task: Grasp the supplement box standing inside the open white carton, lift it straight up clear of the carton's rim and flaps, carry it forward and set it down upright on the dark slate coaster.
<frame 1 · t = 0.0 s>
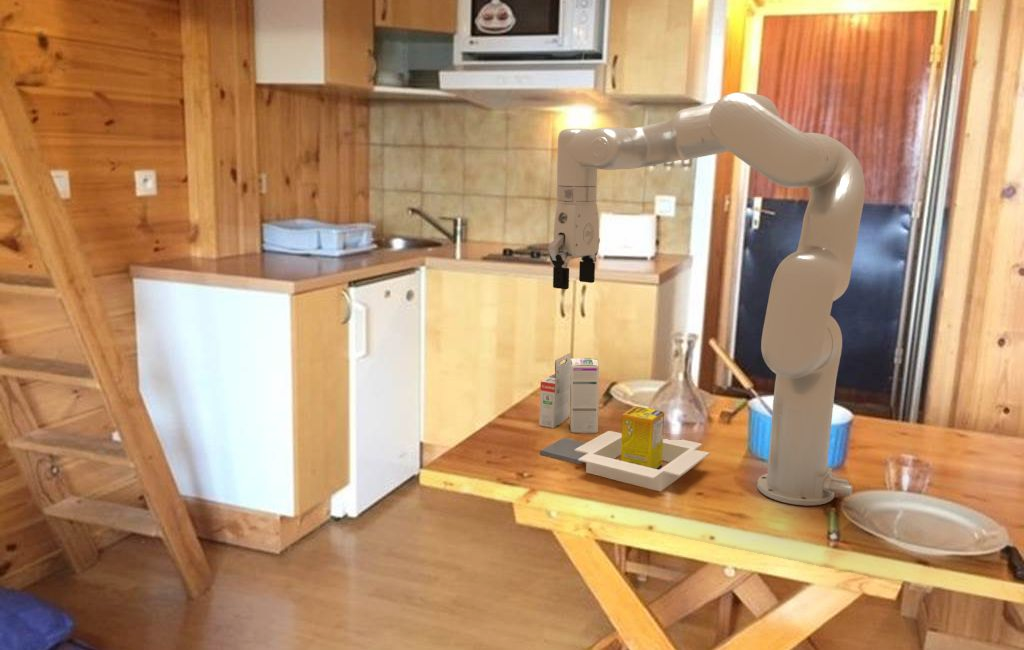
hand: (574, 285, 165), 31 cm above the table, tool pointing down, fingers open, 9 cm apart
supplement box: (640, 470, 156), resting in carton
coaster: (572, 452, 164), on the table
ink box: (554, 423, 182), on the table
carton: (640, 469, 156), on the table
syrup box: (583, 429, 178), on the table
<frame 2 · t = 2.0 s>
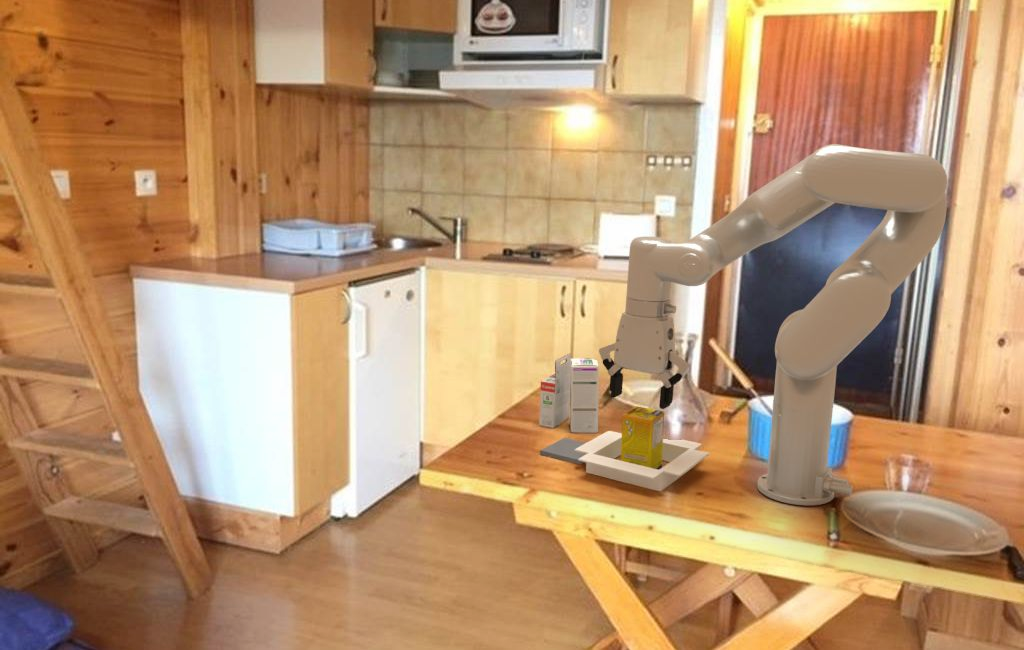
hand: (640, 401, 153), 13 cm above the table, tool pointing down, fingers open, 9 cm apart
nothing on the table moved.
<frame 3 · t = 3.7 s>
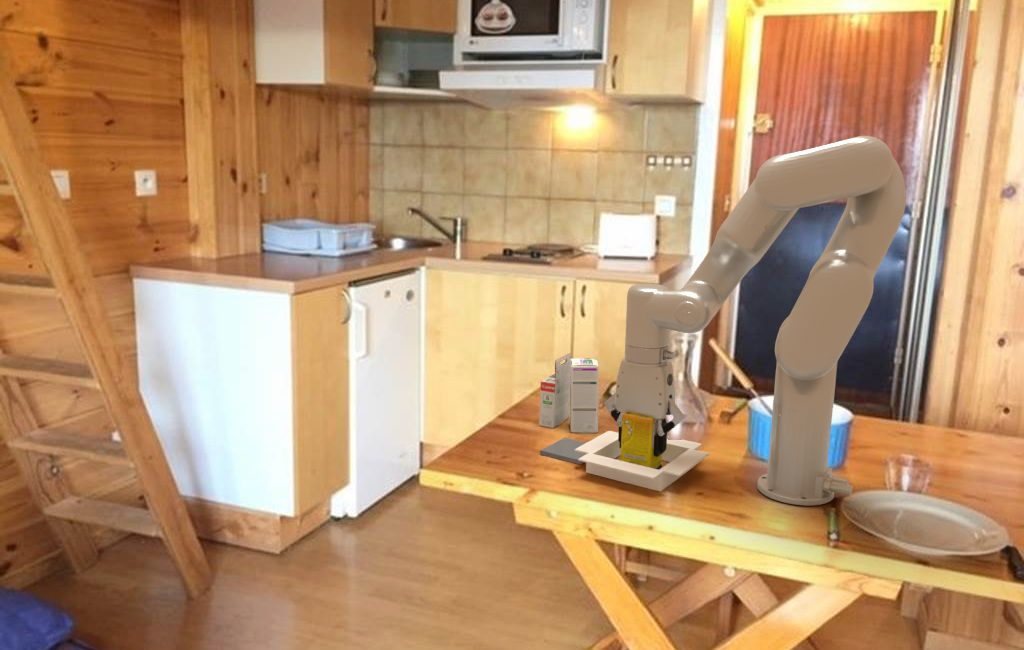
hand: (641, 449, 155), 4 cm above the table, tool pointing down, fingers closed on supplement box, 6 cm apart
supplement box: (640, 470, 156), resting in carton, touching gripper
everything else where it was.
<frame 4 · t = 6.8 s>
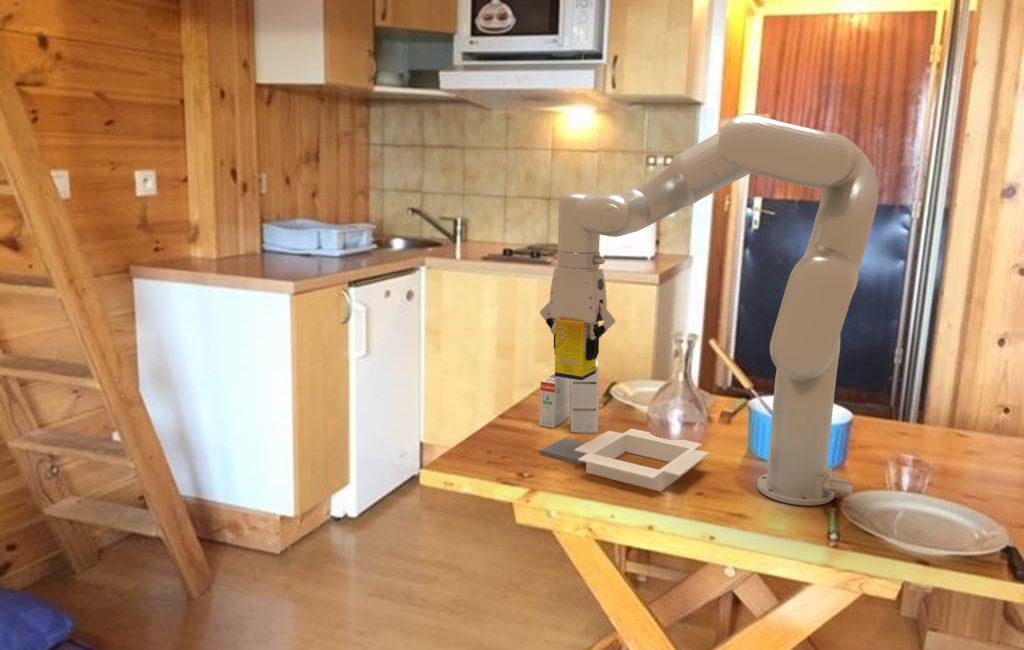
hand: (575, 355, 160), 19 cm above the table, tool pointing down, fingers closed on supplement box, 6 cm apart
supplement box: (575, 376, 161), point 15 cm above the table, touching gripper
everything else where it was.
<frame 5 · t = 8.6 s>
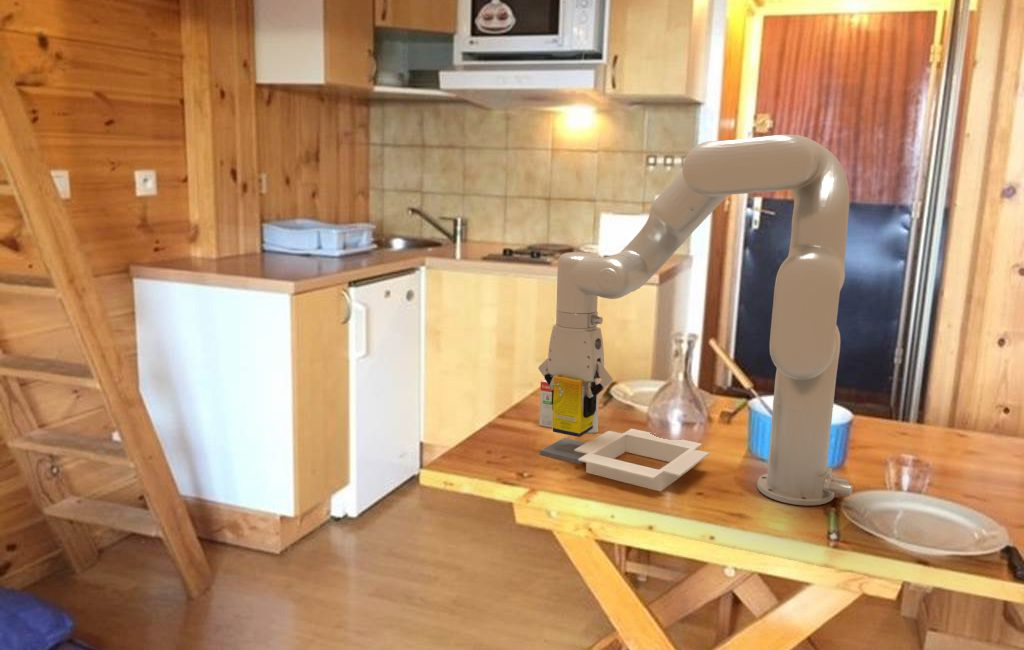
hand: (573, 411, 162), 8 cm above the table, tool pointing down, fingers closed on supplement box, 6 cm apart
supplement box: (572, 431, 163), point 4 cm above the table, touching gripper
everything else where it was.
when the fingers open (6 cm above the table, at t = 10.0 s): supplement box drops 1 cm, resting on coaster.
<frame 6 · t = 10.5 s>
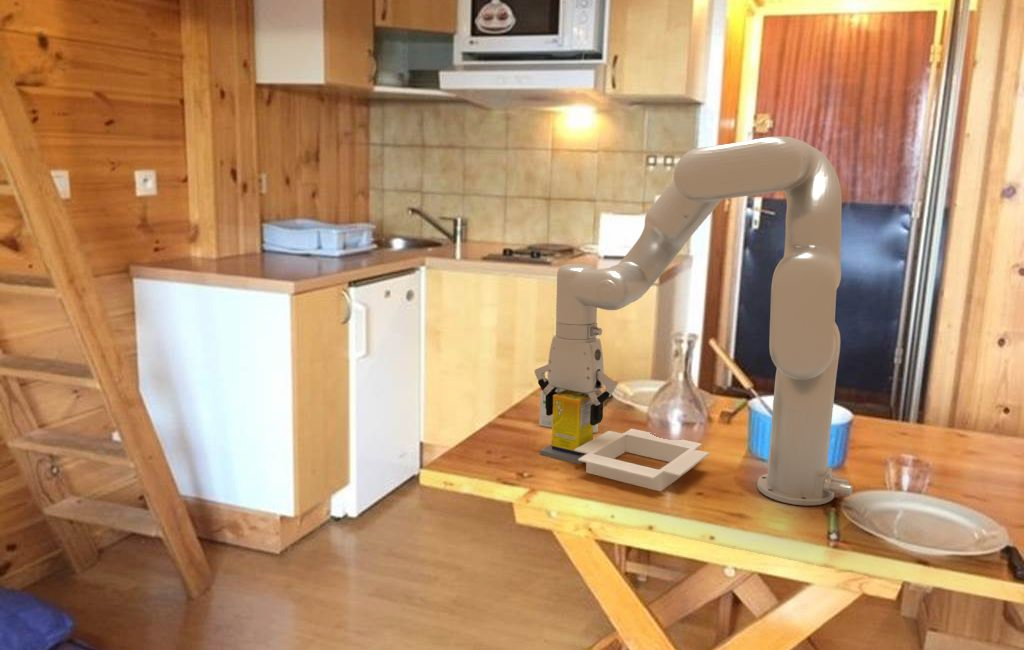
hand: (573, 418, 162), 7 cm above the table, tool pointing down, fingers open, 9 cm apart
supplement box: (572, 449, 164), point 1 cm above the table, touching coaster
everything else where it was.
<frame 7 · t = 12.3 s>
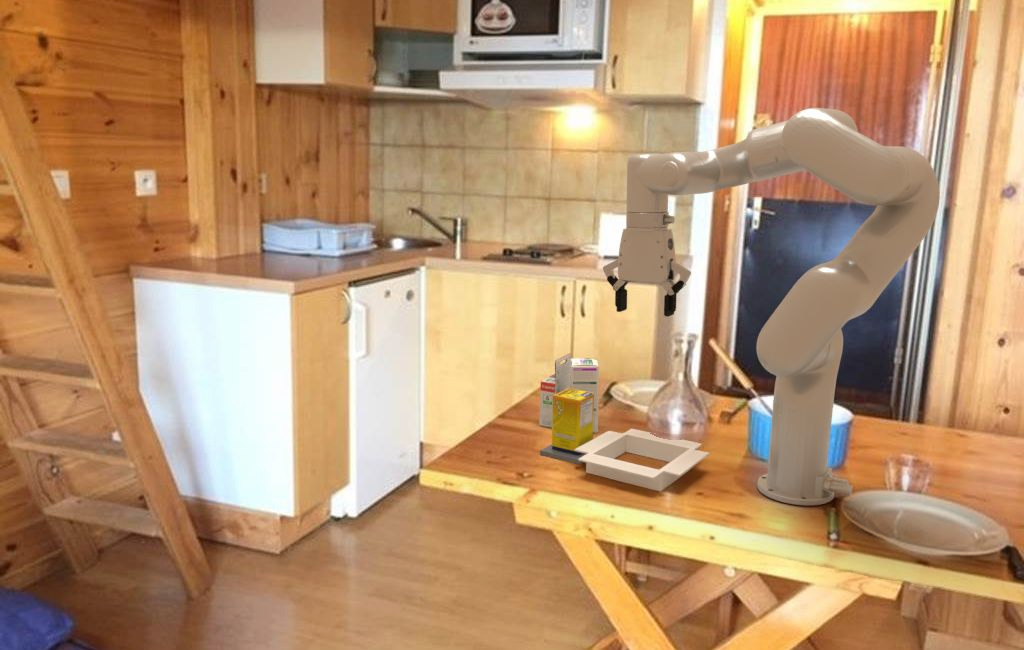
hand: (645, 313, 161), 27 cm above the table, tool pointing down, fingers open, 9 cm apart
nothing on the table moved.
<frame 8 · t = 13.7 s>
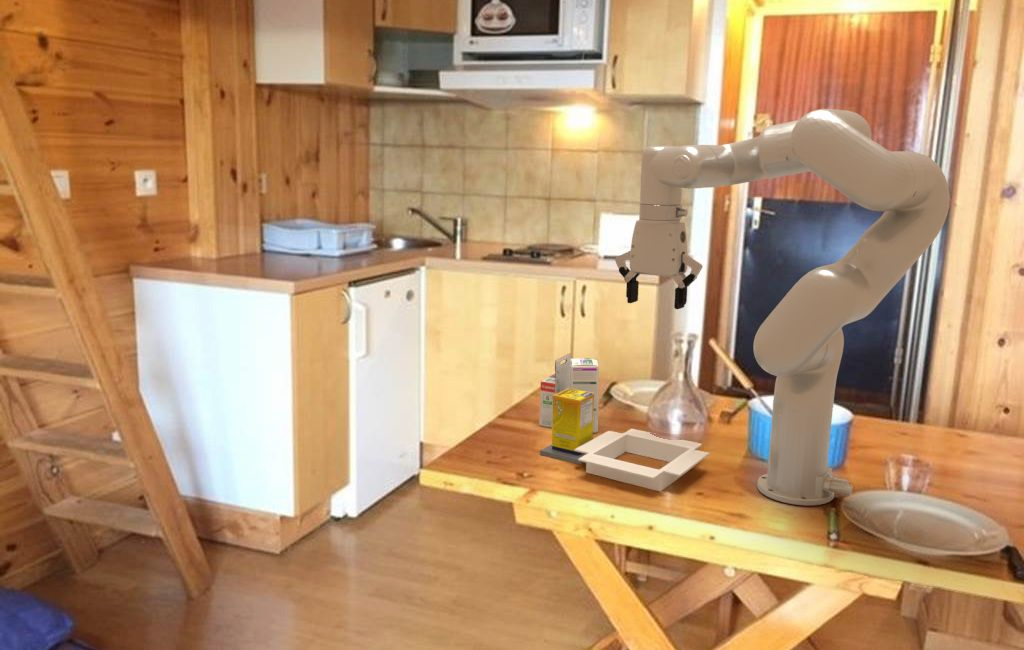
hand: (655, 305, 161), 28 cm above the table, tool pointing down, fingers open, 9 cm apart
nothing on the table moved.
at the end: supplement box inside the target area on the coaster (0.1 cm from its centre), point 0.6 cm above the coaster's base; supplement box tilted 0°; the gripper is holding nothing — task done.
